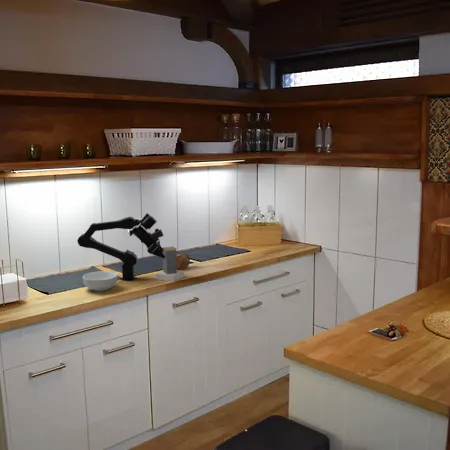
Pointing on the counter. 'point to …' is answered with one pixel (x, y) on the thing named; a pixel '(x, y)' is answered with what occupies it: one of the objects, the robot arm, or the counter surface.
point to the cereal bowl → (100, 280)
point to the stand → (170, 276)
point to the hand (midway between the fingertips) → (164, 255)
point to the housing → (169, 260)
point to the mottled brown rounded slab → (182, 261)
